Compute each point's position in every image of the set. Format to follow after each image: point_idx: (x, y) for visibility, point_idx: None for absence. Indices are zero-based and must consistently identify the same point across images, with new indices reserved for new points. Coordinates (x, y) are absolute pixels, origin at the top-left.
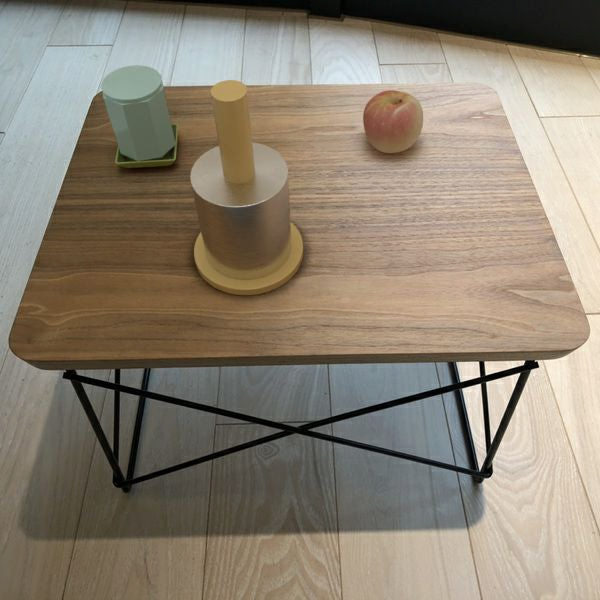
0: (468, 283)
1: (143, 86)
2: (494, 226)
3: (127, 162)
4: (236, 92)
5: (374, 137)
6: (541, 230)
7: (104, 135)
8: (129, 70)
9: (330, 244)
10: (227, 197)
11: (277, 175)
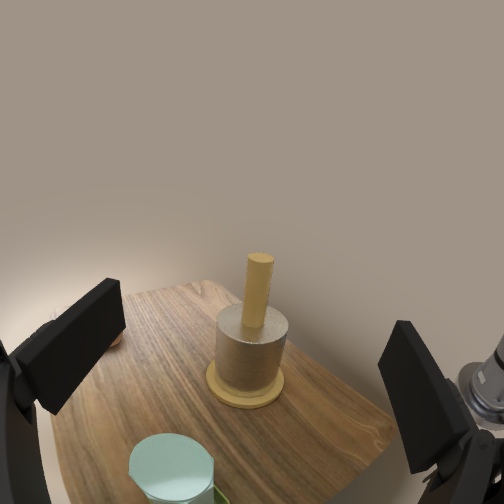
0: (203, 303)
1: (172, 448)
2: (162, 300)
3: (221, 493)
4: (259, 255)
5: (121, 332)
6: (158, 290)
7: None
8: (147, 479)
9: (210, 349)
10: (277, 317)
11: (240, 306)
